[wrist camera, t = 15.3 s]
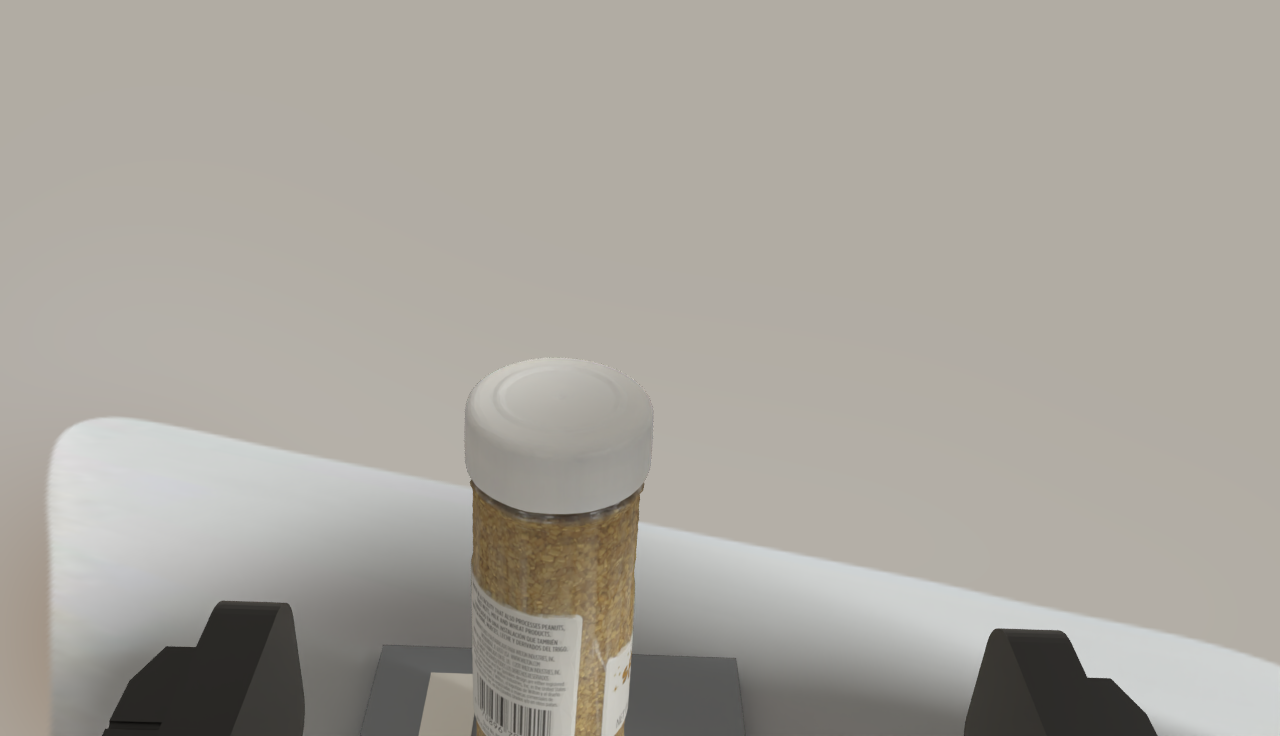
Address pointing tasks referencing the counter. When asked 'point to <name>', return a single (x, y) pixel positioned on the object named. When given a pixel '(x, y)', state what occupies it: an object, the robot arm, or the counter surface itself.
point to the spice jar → (554, 544)
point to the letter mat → (657, 707)
